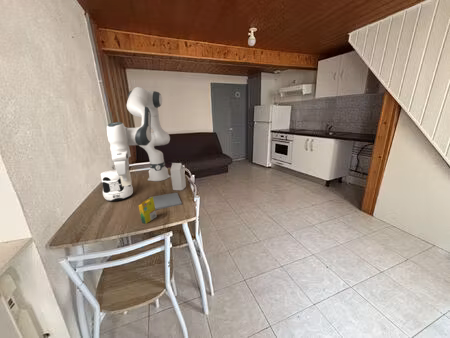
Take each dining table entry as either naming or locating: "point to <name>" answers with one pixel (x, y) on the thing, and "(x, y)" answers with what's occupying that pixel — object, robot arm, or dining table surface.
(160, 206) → the mat
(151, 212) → the crayon box
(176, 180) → the milk carton
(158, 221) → the dining table surface
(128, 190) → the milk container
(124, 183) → the cream block
